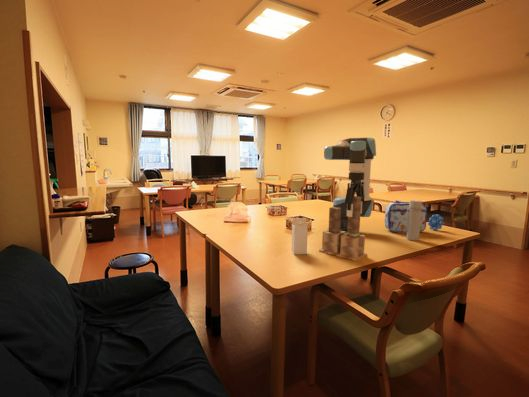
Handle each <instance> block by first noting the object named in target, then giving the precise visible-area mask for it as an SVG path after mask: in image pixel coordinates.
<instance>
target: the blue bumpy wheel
mask: <svg viewBox="0 0 529 397" xmlns="http://www.w3.org/2000/svg"><path fill="white" fill-rule="evenodd" d="M444 224H445V222H444V217H442V216H441V215H440V214H433V215H432V216H431V217H429V218H428V222H427V226H429V229H430V230H434V231H438V230H441V229H442V227H443V226H444Z"/></svg>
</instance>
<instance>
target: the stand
mask: <svg viewBox="0 0 529 397" xmlns="http://www.w3.org/2000/svg"><path fill="white" fill-rule="evenodd" d="M365 241H366V235H364V234H360V235H359V237H356V238H355V237H350V236H347V232H345V231H340V233H337V234H335V233H330V232H329V229H327V230H324V231H322V244H321V248H320V249H318V251H319V252H320V253H323V254H324V253H325V254H328V255H331V256H334V257H339V258H344V259H347V260H350V261H354V262H358V261H360V260H362V259H364V258H366V256H368V253H367V252H365V243H366V242H365Z"/></svg>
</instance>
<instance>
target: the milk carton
mask: <svg viewBox="0 0 529 397" xmlns="http://www.w3.org/2000/svg"><path fill="white" fill-rule="evenodd" d="M292 220H293V221H292V224H291V252H292V254H293V255H307V254H308V235H309V234H308V233H309V232H308V230H309V229H308V228H309V227H308V221H307V218H306V217H304V218H303V217H299V218H298V217H294V218H293V219H292Z"/></svg>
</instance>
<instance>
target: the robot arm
mask: <svg viewBox="0 0 529 397" xmlns="http://www.w3.org/2000/svg"><path fill="white" fill-rule="evenodd" d="M376 146H377V144H376V139H375V138H373V137H350V138H345V139H342V140H339V141H338V142H337V143H336V144H334V145H326V146H325V147H324V151H323V157H324V159H325V160H329V161H332V160H333V161H335V160H337V161H340V160H341V161H349V163H348V180H349V181H350V182H348V183H347V189H346V194H345V196H344V197H343V196H341V197H335V198H334V199H333V201H332V202H333V204H332V207H338V208H341V220H340V231H345V232H346V233H347V229H348V217H352V213H353V204H352V202H353V198H354V196H358V197H361V212H360V218H369V217H371V215H372V212H373V211H372V210H373V205H374V200H372V197H371V196H370V188H371V186H370V185H371V171H372V170H371V168H372V167H371V166H372V161H373V160H374V157H376V156H377V147H376Z"/></svg>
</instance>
